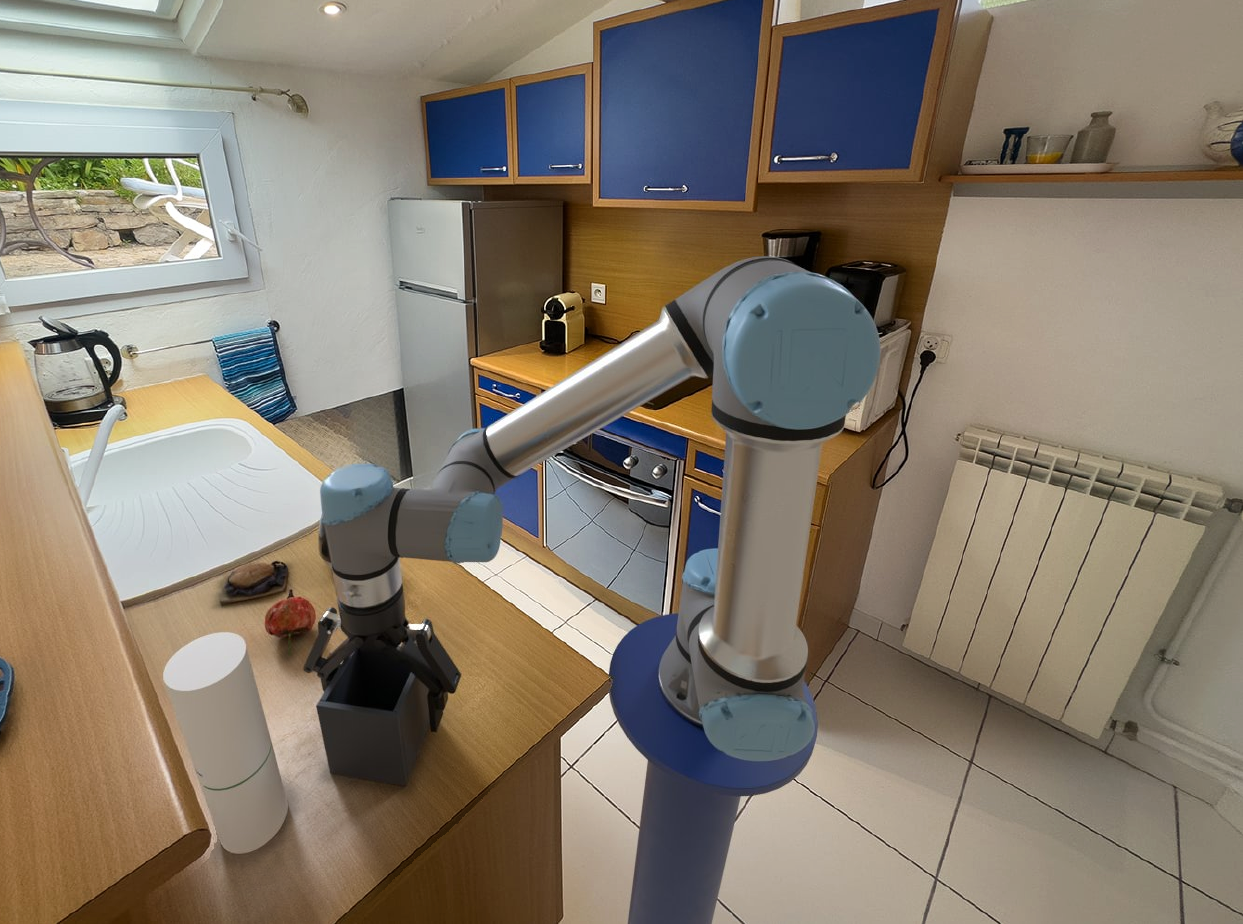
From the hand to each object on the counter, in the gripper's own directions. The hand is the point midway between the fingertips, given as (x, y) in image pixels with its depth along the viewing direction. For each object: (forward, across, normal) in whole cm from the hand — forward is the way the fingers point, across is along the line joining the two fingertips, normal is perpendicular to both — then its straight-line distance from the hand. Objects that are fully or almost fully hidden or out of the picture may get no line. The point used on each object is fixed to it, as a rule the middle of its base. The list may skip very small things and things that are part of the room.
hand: (388, 715), depth 74 cm
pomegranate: (+3, -22, +13) cm, 26 cm away
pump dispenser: (+3, -22, +32) cm, 39 cm away
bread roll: (+3, -36, +23) cm, 43 cm away
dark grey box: (-3, 0, -7) cm, 7 cm away
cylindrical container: (+3, -11, -13) cm, 17 cm away
